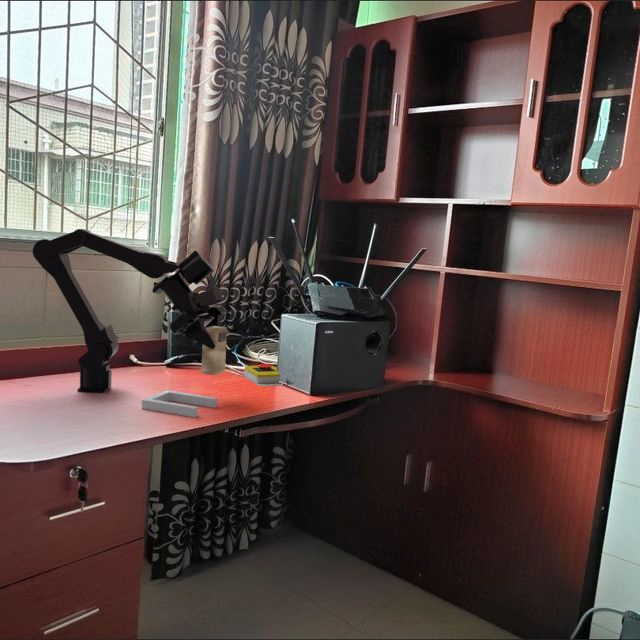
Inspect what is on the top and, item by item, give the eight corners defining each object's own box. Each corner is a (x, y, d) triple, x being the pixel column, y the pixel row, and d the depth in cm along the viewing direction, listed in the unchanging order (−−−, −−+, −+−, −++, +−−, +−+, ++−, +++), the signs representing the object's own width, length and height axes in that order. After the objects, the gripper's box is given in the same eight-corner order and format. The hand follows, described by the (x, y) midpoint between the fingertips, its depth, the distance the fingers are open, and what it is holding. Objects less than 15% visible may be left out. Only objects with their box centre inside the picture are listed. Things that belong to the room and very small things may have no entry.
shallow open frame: (141, 408, 139) (141, 399, 139) (167, 398, 149) (167, 390, 149) (194, 417, 135) (194, 408, 135) (216, 406, 145) (217, 398, 145)
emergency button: (271, 360, 185) (291, 371, 171) (270, 374, 185) (290, 386, 172) (241, 361, 180) (260, 372, 167) (241, 375, 181) (259, 388, 168)
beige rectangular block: (201, 373, 148) (203, 328, 147) (212, 369, 154) (214, 325, 152) (216, 375, 147) (218, 330, 146) (226, 371, 152) (229, 327, 151)
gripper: (183, 276, 140) (224, 330, 138) (221, 274, 157) (258, 321, 156) (151, 307, 143) (191, 360, 141) (192, 302, 161) (228, 348, 159)
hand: (219, 346), depth 149 cm, fingers closed on beige rectangular block, 5 cm apart
